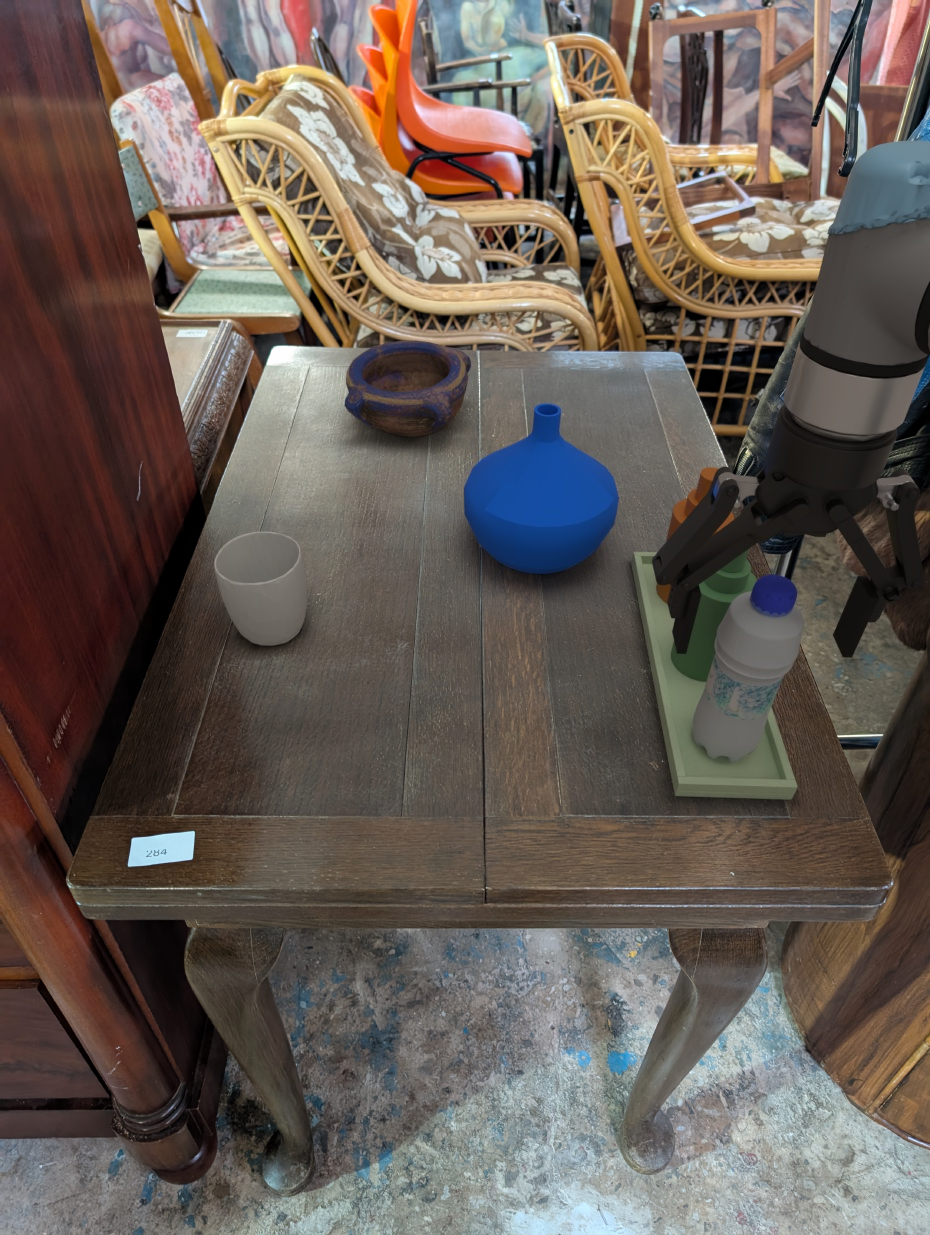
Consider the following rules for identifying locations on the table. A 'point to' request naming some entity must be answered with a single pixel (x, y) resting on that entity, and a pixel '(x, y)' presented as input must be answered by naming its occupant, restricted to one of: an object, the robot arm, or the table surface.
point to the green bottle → (713, 616)
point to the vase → (540, 500)
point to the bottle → (748, 667)
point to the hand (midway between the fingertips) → (760, 644)
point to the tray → (677, 703)
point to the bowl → (407, 386)
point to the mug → (263, 586)
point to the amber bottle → (684, 510)
